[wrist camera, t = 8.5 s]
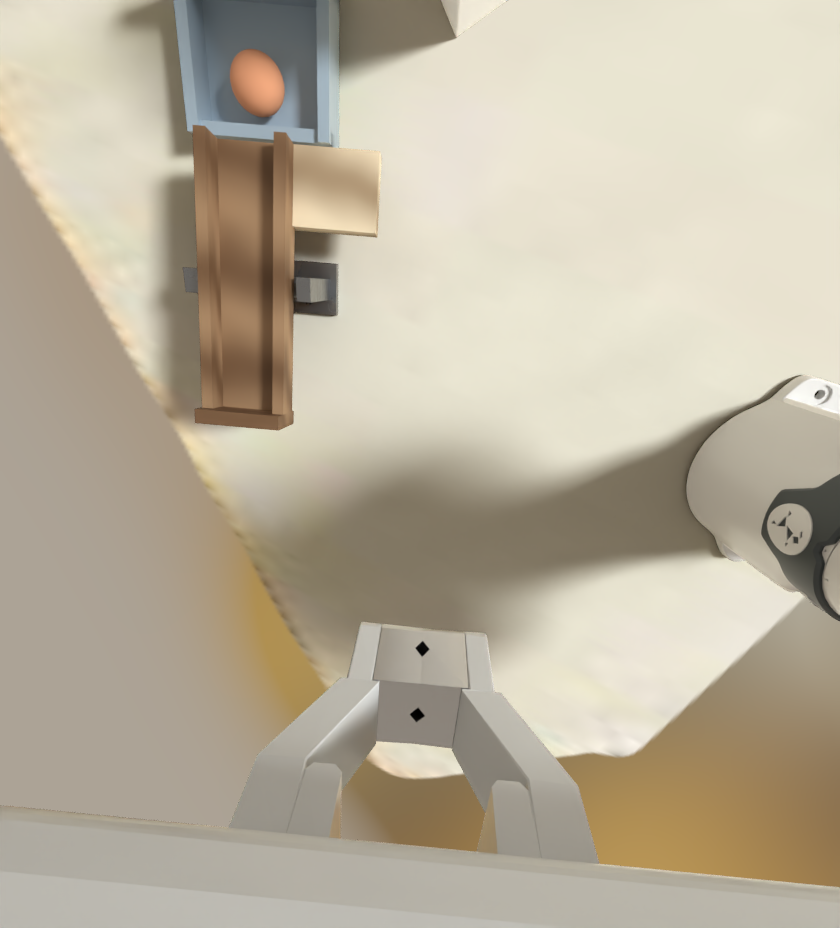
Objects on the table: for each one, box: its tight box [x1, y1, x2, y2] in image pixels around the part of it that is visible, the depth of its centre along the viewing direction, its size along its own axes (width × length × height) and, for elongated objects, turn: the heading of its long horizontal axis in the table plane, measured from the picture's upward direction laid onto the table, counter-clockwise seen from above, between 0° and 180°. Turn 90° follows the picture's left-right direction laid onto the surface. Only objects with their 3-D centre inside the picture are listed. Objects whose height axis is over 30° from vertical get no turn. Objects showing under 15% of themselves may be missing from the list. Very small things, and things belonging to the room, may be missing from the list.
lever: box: [193, 125, 382, 430], centre depth 31 cm, size 19×12×4 cm, turn 175°
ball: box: [230, 49, 285, 117], centre depth 29 cm, size 4×4×4 cm
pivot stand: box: [183, 260, 338, 315], centre depth 33 cm, size 4×10×7 cm, turn 85°
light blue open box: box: [174, 0, 339, 148], centre depth 28 cm, size 10×9×6 cm
